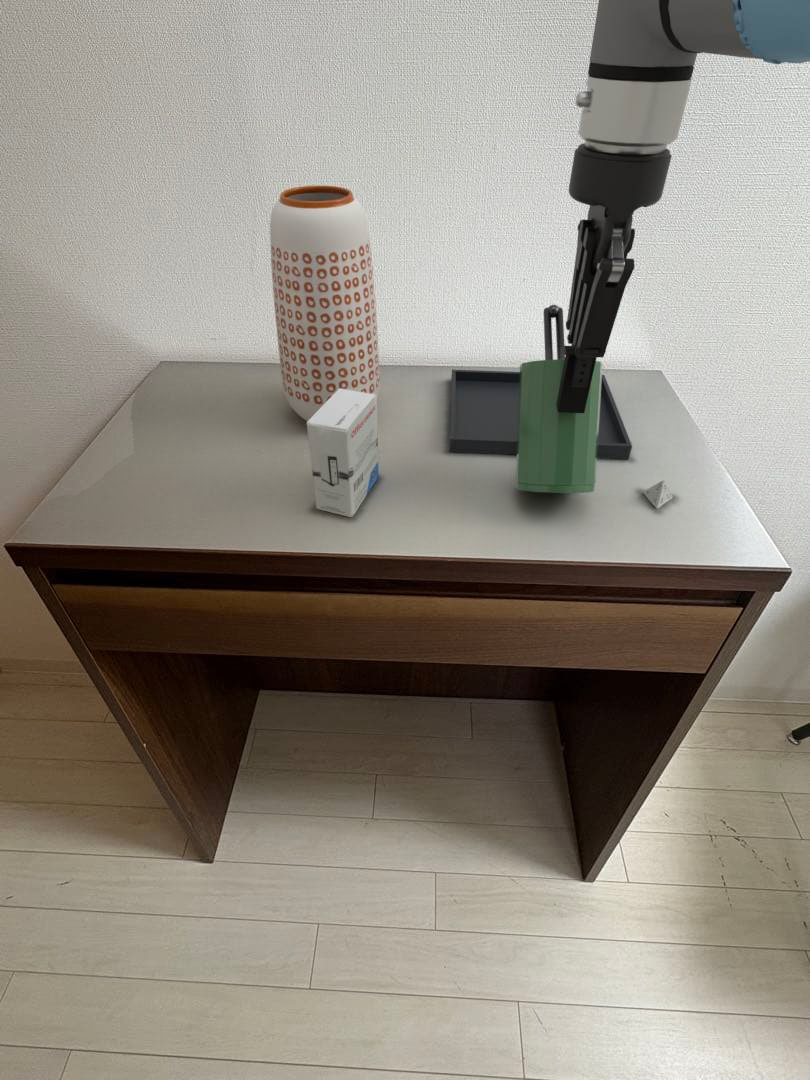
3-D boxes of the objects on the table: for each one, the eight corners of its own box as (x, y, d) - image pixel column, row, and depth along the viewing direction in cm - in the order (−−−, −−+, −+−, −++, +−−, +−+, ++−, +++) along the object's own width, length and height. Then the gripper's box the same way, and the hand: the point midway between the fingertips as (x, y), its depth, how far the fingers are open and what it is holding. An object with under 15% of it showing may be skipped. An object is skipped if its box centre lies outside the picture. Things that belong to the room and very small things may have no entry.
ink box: (344, 470, 78) (338, 384, 70) (380, 478, 77) (378, 392, 69) (313, 509, 72) (303, 420, 64) (352, 519, 70) (347, 429, 63)
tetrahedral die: (639, 510, 73) (645, 496, 71) (642, 491, 75) (648, 477, 72) (670, 516, 73) (677, 502, 70) (672, 497, 74) (679, 482, 71)
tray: (601, 386, 95) (604, 374, 94) (628, 459, 80) (632, 446, 79) (451, 381, 96) (451, 369, 95) (449, 452, 81) (450, 438, 80)
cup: (599, 488, 73) (606, 366, 71) (588, 494, 65) (596, 357, 63) (525, 485, 77) (530, 369, 74) (507, 490, 69) (511, 361, 67)
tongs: (555, 477, 78) (562, 305, 75) (571, 485, 67) (580, 283, 64) (536, 477, 78) (542, 306, 75) (550, 484, 68) (557, 284, 64)
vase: (393, 428, 86) (391, 201, 67) (299, 445, 82) (269, 212, 64) (364, 385, 95) (355, 177, 76) (278, 400, 91) (247, 185, 73)
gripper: (565, 130, 54) (528, 379, 70) (589, 159, 44) (540, 441, 60) (652, 132, 54) (595, 381, 69) (696, 161, 44) (618, 444, 59)
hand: (570, 409), depth 65 cm, fingers closed
